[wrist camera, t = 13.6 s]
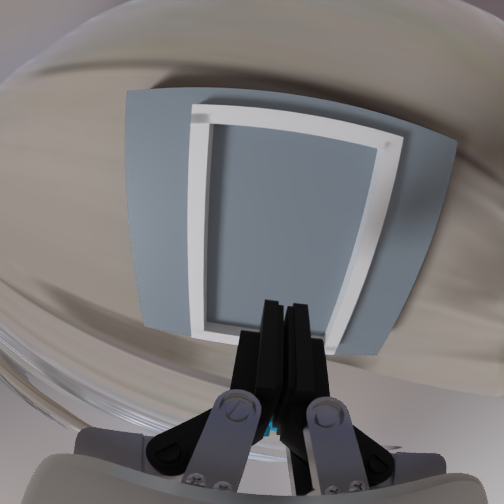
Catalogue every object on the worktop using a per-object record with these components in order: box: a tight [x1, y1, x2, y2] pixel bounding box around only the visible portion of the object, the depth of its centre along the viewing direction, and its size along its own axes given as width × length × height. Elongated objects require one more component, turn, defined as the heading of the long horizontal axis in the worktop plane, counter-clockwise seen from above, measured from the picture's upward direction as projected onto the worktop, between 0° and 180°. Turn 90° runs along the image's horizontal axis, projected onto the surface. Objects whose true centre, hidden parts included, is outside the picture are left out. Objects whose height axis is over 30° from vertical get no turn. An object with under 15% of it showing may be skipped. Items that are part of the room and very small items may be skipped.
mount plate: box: [125, 87, 458, 355], centre depth 17 cm, size 20×18×4 cm
